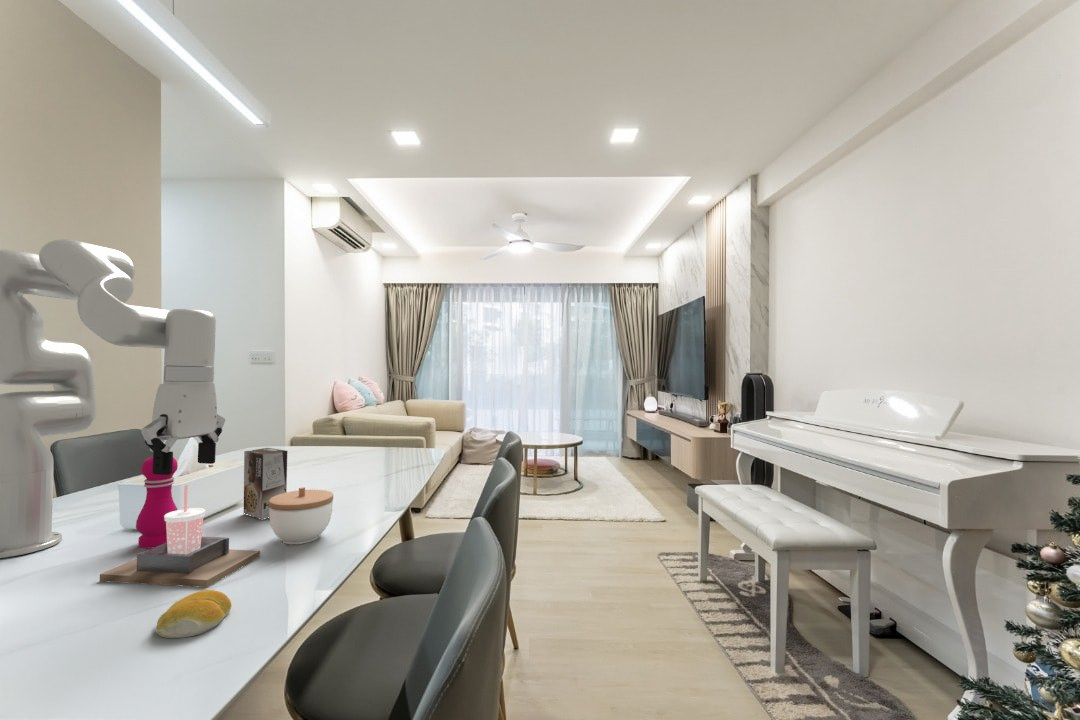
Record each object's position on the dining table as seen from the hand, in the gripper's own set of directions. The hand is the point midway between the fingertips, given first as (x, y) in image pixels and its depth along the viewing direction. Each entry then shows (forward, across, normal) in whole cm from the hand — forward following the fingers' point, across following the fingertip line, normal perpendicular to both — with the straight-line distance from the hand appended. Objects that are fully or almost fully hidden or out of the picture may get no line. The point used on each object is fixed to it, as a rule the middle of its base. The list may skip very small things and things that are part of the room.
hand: (185, 468), depth 88 cm
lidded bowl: (+18, -17, +13) cm, 28 cm away
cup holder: (+18, 0, +1) cm, 18 cm away
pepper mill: (+19, -11, -15) cm, 27 cm away
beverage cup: (+17, 0, 0) cm, 17 cm away
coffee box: (+19, -32, -6) cm, 38 cm away
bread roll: (+18, +17, +18) cm, 31 cm away
